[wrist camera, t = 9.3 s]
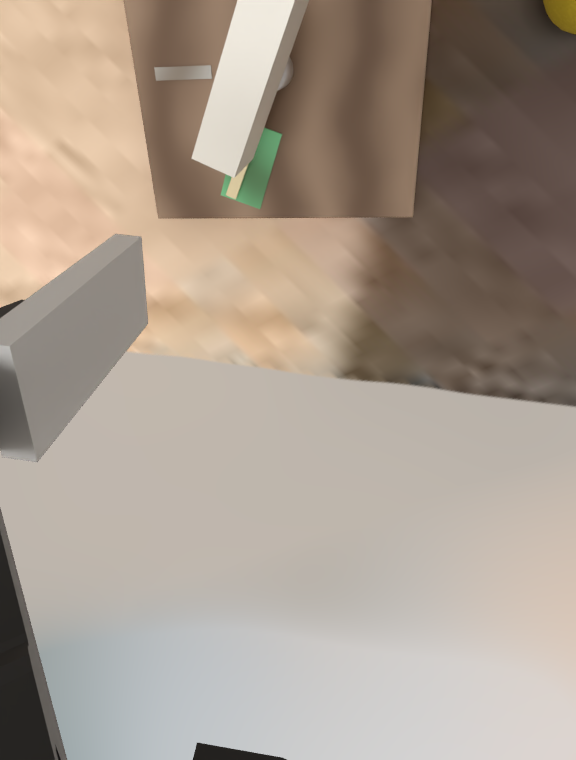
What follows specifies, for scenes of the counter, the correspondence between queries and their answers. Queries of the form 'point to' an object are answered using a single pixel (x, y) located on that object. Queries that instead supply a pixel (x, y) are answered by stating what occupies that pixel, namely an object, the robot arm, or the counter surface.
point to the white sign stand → (247, 84)
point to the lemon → (562, 14)
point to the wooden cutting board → (289, 110)
